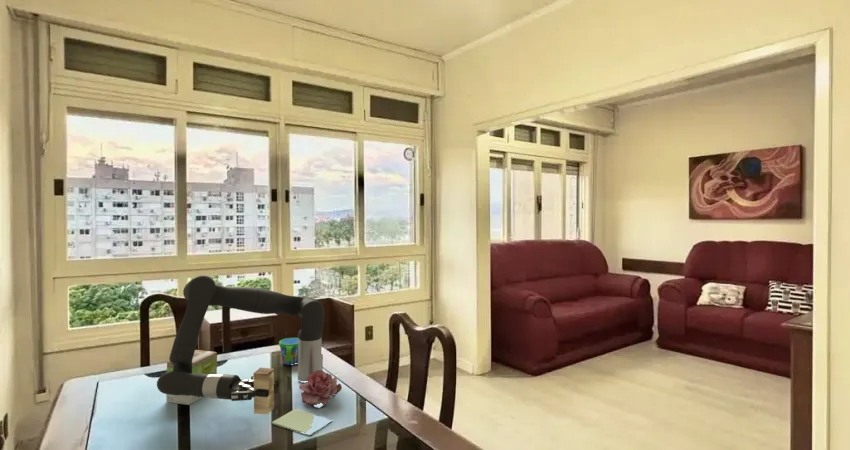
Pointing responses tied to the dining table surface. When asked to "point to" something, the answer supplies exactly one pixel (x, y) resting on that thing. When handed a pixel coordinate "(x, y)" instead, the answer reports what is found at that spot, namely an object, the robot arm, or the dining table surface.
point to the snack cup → (289, 350)
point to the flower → (319, 388)
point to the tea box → (200, 365)
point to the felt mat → (295, 421)
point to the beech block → (264, 381)
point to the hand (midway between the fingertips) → (272, 389)
